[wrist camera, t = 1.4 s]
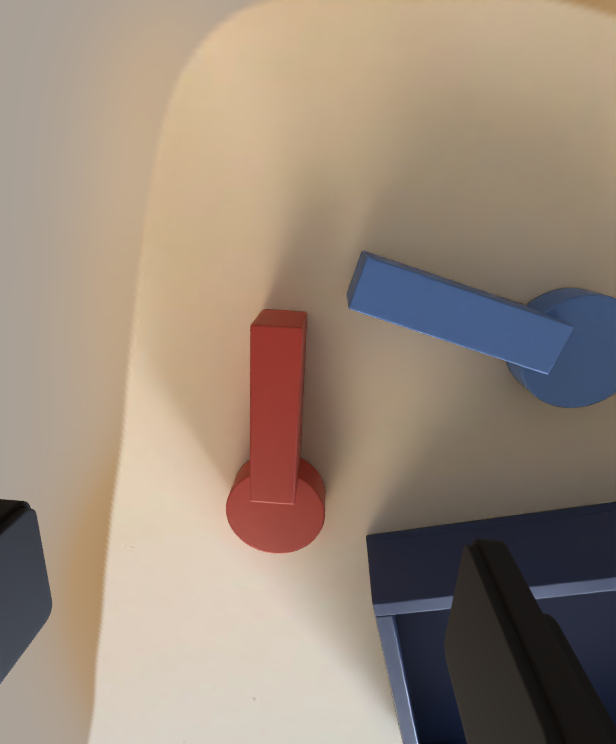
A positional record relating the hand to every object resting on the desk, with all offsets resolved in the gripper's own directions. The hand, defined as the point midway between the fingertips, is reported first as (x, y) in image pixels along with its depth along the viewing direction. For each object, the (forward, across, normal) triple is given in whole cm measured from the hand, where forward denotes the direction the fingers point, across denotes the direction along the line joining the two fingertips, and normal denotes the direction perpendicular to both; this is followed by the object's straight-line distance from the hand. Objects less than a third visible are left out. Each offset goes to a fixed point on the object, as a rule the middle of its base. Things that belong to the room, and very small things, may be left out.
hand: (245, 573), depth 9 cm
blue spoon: (+8, -7, -4) cm, 11 cm away
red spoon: (+8, 0, 0) cm, 8 cm away
